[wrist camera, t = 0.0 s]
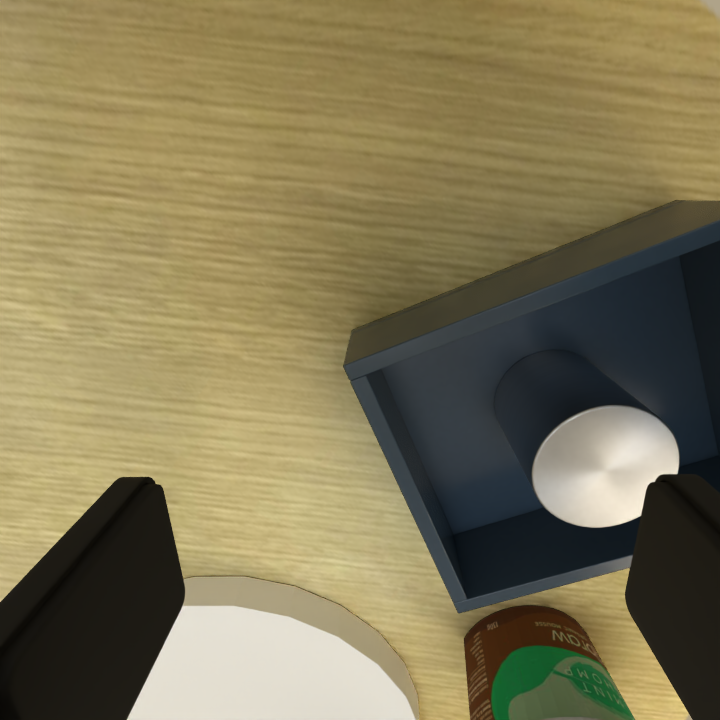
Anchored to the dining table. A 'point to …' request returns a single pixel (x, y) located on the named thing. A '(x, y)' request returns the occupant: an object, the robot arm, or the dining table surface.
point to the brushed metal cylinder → (582, 439)
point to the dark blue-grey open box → (515, 342)
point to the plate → (272, 659)
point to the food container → (537, 669)
